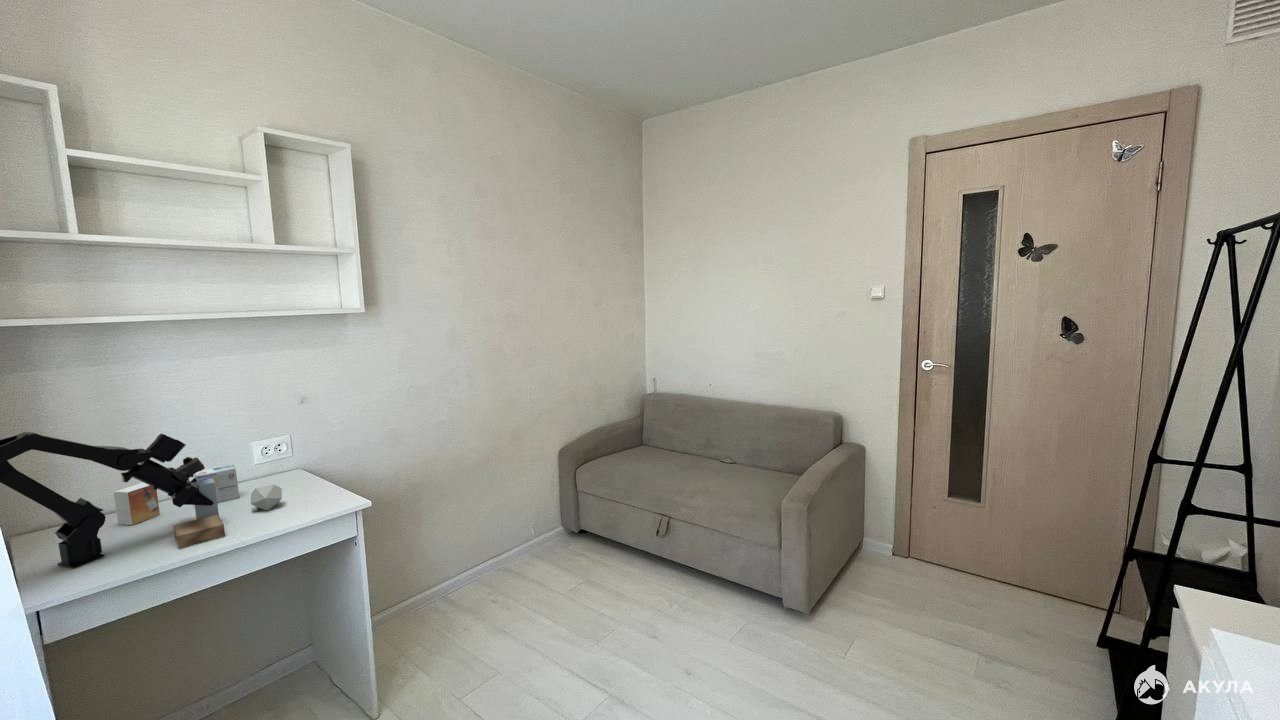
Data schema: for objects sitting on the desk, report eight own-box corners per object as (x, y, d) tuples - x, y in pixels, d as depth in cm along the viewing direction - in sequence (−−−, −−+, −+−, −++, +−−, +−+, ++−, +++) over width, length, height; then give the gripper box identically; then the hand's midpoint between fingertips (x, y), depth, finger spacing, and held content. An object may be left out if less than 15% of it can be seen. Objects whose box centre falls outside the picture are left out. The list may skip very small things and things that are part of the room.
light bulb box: (237, 492, 183) (233, 463, 182) (240, 497, 178) (236, 467, 177) (197, 501, 175) (193, 470, 174) (199, 507, 171) (195, 475, 169)
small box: (132, 525, 157) (126, 492, 156) (117, 524, 159) (112, 491, 157) (161, 514, 165) (156, 483, 164) (147, 513, 166) (142, 482, 165)
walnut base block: (179, 550, 142) (177, 536, 142) (175, 538, 149) (173, 525, 149) (225, 537, 149) (223, 524, 149) (219, 527, 156) (217, 514, 156)
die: (289, 507, 171) (287, 479, 175) (268, 504, 163) (266, 475, 167) (266, 516, 171) (265, 488, 175) (244, 513, 163) (243, 484, 167)
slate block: (198, 528, 154) (192, 486, 153) (197, 523, 158) (191, 482, 156) (219, 523, 158) (214, 482, 156) (218, 518, 161) (212, 478, 160)
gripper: (182, 459, 145) (237, 486, 154) (179, 445, 159) (229, 471, 168) (148, 493, 141) (206, 519, 150) (147, 477, 154) (200, 502, 163)
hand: (211, 501), depth 158 cm, fingers closed on slate block, 5 cm apart
